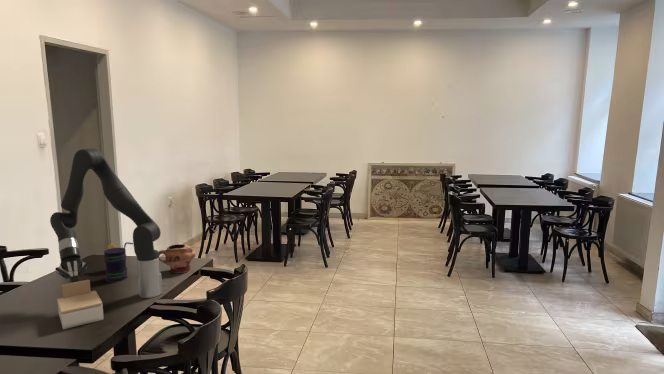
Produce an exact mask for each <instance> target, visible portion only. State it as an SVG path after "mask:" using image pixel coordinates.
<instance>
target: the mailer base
mask: <svg viewBox="0 0 664 374" xmlns="http://www.w3.org/2000/svg"><path fill="white" fill-rule="evenodd" d="M103 307H104V306H103V305H99V306H94V307H90V308H85V309H81V310H76V311H72V312H68V313H63V314H61V310H60V307H59V304H58V303H57V309H58V310H57V311H58V312H57V313H58V318H59V321H60V324H61V327H62V330H66V329H71V328H74V327H75V328H76V327H78V326H83V325H87V324H91V323H96V322H100V321H103V320H105V318H104V308H103Z"/></svg>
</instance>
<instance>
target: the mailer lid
mask: <svg viewBox="0 0 664 374" xmlns="http://www.w3.org/2000/svg"><path fill="white" fill-rule="evenodd" d="M61 290H62V297H57V299H56V301H57V305H58V304H59V307H60V310H61V314H63V313H68V312H72V311H76V310H81V309H85V308H90V307H94V306H99V305H103V301H102V299H101V298H100V296H99V294H98V293H97V291H96V290H92V291H91V280H90V279H85V280H79V281H78V282H73V283H71V282H69V283H65V284H61Z"/></svg>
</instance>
